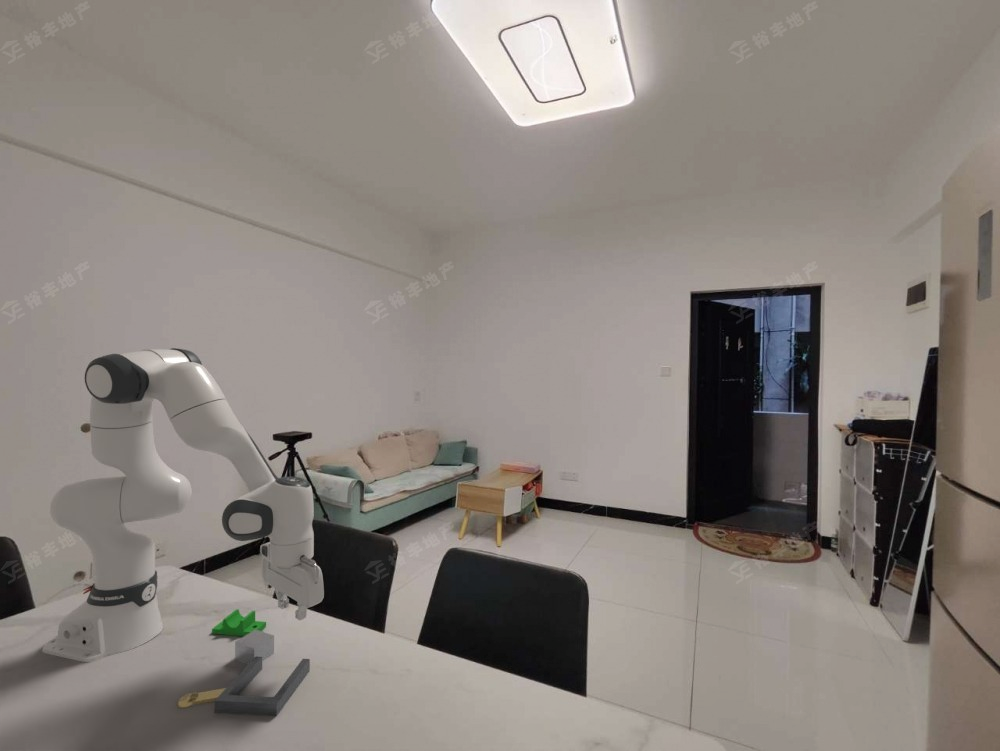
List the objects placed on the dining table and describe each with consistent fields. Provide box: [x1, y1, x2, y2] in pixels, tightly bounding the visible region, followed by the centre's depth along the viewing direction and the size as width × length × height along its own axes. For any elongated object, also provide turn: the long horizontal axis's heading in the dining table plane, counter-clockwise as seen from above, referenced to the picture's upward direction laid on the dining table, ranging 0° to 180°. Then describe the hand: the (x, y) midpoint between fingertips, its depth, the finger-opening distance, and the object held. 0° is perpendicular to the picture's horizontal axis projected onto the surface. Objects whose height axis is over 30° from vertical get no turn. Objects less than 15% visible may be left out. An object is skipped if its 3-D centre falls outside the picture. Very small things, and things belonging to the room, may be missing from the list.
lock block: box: [234, 629, 275, 665], centre depth 97 cm, size 6×5×4 cm
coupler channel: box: [214, 657, 311, 717], centre depth 87 cm, size 12×12×3 cm
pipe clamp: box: [211, 608, 267, 637], centre depth 107 cm, size 11×4×5 cm
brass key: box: [177, 687, 227, 709], centre depth 84 cm, size 8×3×1 cm, turn 107°
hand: (291, 612), depth 96 cm, fingers open, 6 cm apart
